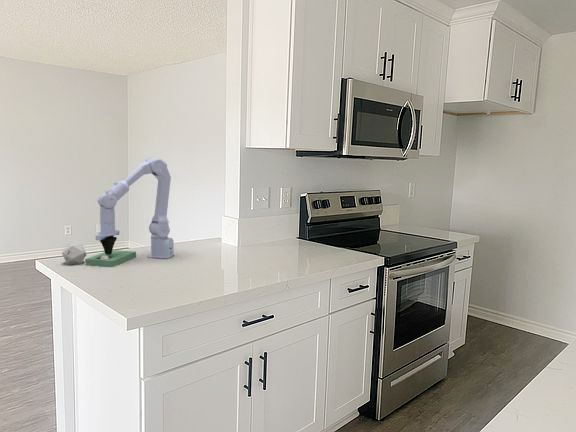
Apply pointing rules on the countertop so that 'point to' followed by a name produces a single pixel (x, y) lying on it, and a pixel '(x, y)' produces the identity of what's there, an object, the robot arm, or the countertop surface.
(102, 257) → the ball
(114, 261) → the green
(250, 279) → the countertop surface
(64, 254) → the die
